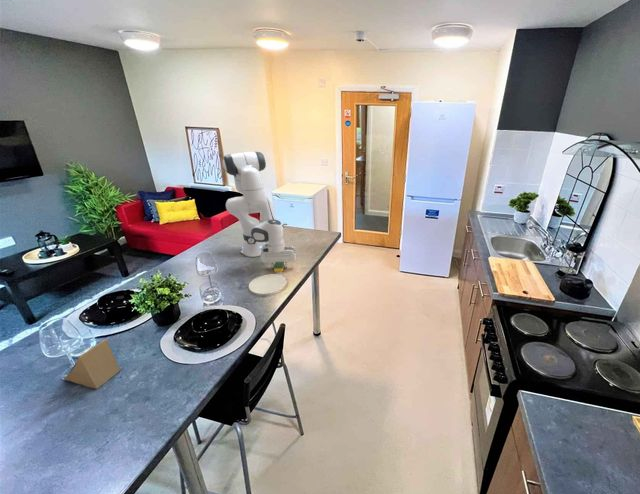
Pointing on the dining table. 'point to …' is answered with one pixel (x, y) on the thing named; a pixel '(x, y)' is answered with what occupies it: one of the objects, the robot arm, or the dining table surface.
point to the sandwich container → (94, 366)
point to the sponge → (279, 266)
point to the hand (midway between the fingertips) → (279, 267)
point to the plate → (267, 283)
